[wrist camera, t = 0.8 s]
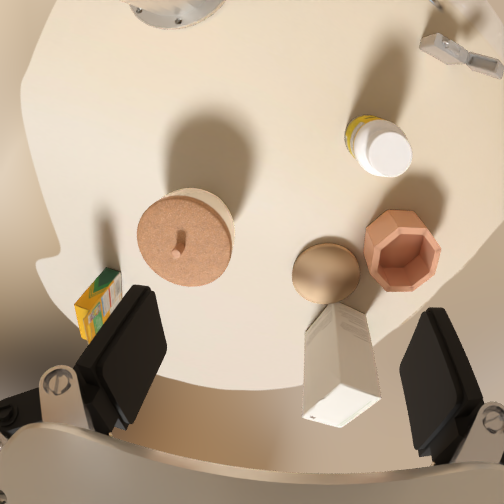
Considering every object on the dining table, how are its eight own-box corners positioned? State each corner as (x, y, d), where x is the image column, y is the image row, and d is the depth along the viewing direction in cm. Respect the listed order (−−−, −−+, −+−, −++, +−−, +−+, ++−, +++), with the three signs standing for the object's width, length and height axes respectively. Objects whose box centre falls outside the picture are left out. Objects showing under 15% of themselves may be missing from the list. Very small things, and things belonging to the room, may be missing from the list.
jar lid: (292, 242, 39) (292, 246, 38) (362, 243, 38) (364, 247, 37) (291, 299, 44) (291, 303, 43) (354, 299, 42) (355, 304, 41)
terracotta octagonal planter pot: (368, 208, 36) (377, 226, 31) (430, 211, 34) (445, 229, 30) (360, 269, 40) (367, 291, 35) (418, 269, 39) (429, 291, 34)
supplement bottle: (397, 129, 30) (430, 146, 22) (375, 168, 33) (400, 197, 25) (356, 105, 30) (379, 111, 21) (335, 145, 32) (349, 167, 24)
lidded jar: (156, 178, 37) (120, 206, 29) (240, 175, 36) (222, 203, 28) (169, 252, 43) (141, 292, 34) (245, 254, 41) (231, 298, 33)
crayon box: (105, 266, 46) (66, 311, 36) (121, 271, 46) (84, 319, 36) (108, 300, 49) (75, 346, 39) (122, 305, 49) (91, 353, 39)
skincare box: (335, 346, 47) (340, 430, 34) (301, 332, 47) (297, 418, 33) (367, 312, 43) (384, 399, 30) (331, 295, 42) (340, 385, 29)
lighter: (418, 48, 25) (449, 41, 18) (422, 36, 24) (453, 27, 17) (467, 77, 25) (504, 80, 18) (470, 66, 24) (507, 66, 17)
